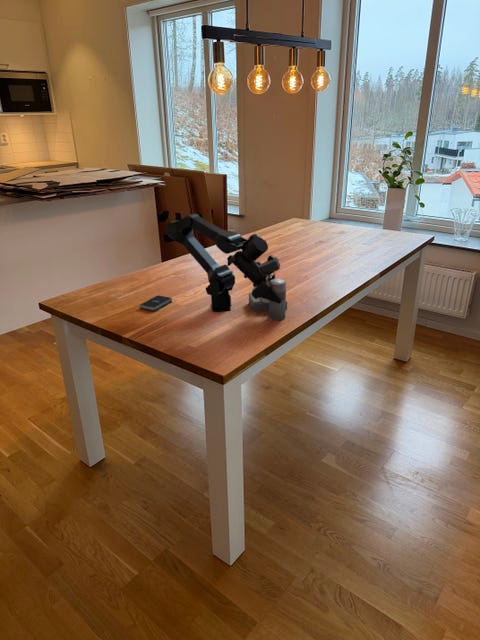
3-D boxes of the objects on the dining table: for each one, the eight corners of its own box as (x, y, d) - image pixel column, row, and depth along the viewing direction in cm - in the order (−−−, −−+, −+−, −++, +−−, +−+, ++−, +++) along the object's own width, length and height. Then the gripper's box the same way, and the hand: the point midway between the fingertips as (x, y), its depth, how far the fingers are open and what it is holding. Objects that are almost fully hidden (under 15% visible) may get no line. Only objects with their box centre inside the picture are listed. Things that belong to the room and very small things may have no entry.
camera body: (253, 312, 156) (253, 300, 154) (249, 303, 164) (248, 291, 162) (286, 309, 158) (287, 297, 156) (280, 300, 166) (280, 289, 164)
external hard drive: (172, 302, 167) (172, 297, 166) (154, 313, 158) (153, 308, 157) (158, 299, 170) (157, 295, 169) (139, 310, 161) (138, 305, 160)
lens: (270, 321, 149) (270, 284, 144) (266, 314, 154) (266, 279, 149) (287, 319, 150) (288, 283, 144) (283, 312, 155) (283, 277, 150)
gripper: (261, 258, 135) (297, 293, 137) (269, 242, 151) (300, 274, 154) (237, 282, 139) (271, 315, 142) (246, 264, 156) (277, 295, 159)
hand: (281, 299), depth 149 cm, fingers closed on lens, 6 cm apart
